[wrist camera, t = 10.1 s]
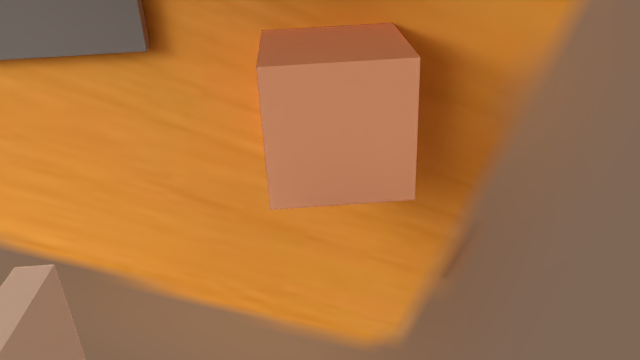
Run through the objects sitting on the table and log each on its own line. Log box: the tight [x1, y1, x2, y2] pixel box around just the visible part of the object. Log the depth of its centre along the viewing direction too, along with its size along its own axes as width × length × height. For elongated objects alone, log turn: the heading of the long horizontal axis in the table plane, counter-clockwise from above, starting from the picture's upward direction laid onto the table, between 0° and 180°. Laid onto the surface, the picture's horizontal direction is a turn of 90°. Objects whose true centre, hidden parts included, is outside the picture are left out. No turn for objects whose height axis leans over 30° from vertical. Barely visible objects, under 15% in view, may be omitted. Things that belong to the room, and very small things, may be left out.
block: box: [256, 23, 420, 210], centre depth 25 cm, size 6×6×6 cm
